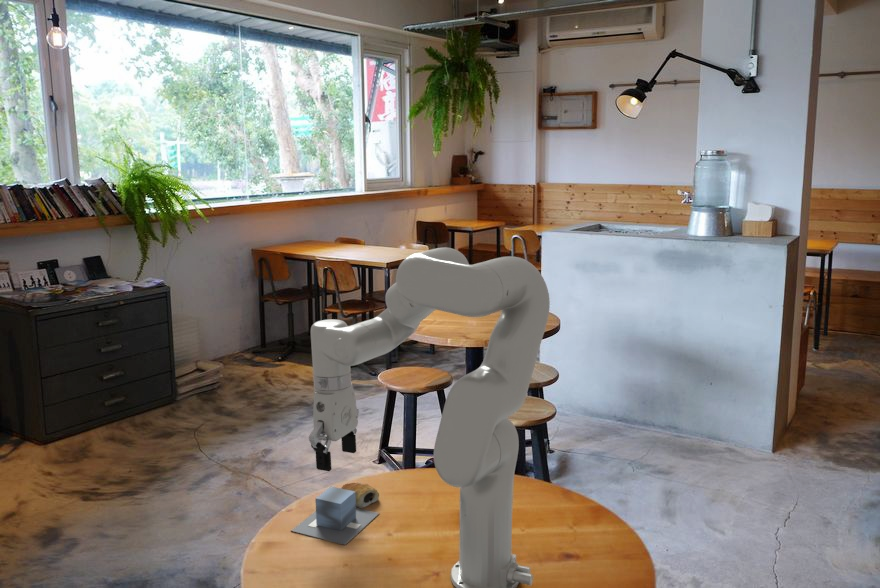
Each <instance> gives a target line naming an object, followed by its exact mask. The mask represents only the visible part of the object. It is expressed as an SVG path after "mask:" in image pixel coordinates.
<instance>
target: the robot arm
mask: <svg viewBox="0 0 880 588" xmlns="http://www.w3.org/2000/svg"><path fill="white" fill-rule="evenodd" d="M396 271H397V272H396V275H395V283H393V284H392V285H391V286H390V287H389V288H388V289H387V290H386V293H385V305H386V309H384V310H383V311H382V312H380V313H379V314H378V315H377V316H375V317H374V318H371V319H367V320H364V321H360V322H357V323H355V324H351V325H348V324H347V323H346V321H343V320H342V319H341V320H340V319H336V318H335V319H334V318H333V319H331V318H330V319H323V320H321V319H320V320H317V321H315V322H314V323H313V324H312V325H311V327H310V343H311V359H312V361H311V362H312V377H313V379H312V380H313V390H314V395H313V410H312V411H313V412H312V413H313V414H312V417H313V418H312V420H313V421H312V422H313V429H312V431H311V432H310V434H309V435H308V441H309V443H310V447H311V448H312V450H313V452H314V453H315V464H316V465H315V466H316V469H317V470H318V471H324V472H330V471H331V470H332V455H331V451H330V447H331V443H332V442H337V441H339V440H340V439H341V451H342V452H343V453H349V454H356V453H357V438H356V434H357V432H358V430H357V427H358V423H359V420H358V417H359V411H360V410H359V409H358V408H357V402H356V394H355V390H354V389H355V388H354V386H353V383H352V376H351V375H352V373H351V367H353V366H357V365H360V364H363V363H365V362H367V361H368V362H369V361H370V360H372V359H375V358H378V357H381V356H384V355H387V354H388V353H390V352H392V351H393V350H394V349H396V348H397V347H398V346H399V345H401V344H402V343H404V342H405V341H407V340H408V339H409V338H410V337H411V336H412V335H413V334H414V333H415V332H416V331H417V329H418V328H419V326H420V325H421V322H422V321H423V320H424V321H425V319H426V318H427V317H429V316H430V315H431V314H432V313H434V312H435V311H436V310H437V311H442V312H445V313H450V314H452V315H453V314H455V315H458V316H461V317H462V316H463V317H468V318H481V317H482V318H483V317H487V316H490V315H492V314H496V313H497V312H500V311H501V312H500V315H499V318H498V320H497V321H496V323H495V325H494V327H493V329H492V331H491V333H490V337H489V339H488V345H487V348H486V351H485V354H484V358H483V361H482V362H481V364H480V366H479V367H477V368H476V369H475V370H472V371H471V372H469V373H467V374H465V375H463V376H462V377H460V378H459V379H458V380H457V381H455V382H454V383H453V384H452V386H451V388H450V389H449V392H448V394H447V396H446V399H445V403H444V406H443V410H442V414H441V418H440V421H439V426H438V429H437V430H438V431H437V434H436V437H435V442H434V447H433V462H434V467H435V470H436V472H437V474H438V476H439V477H440V478H441V480H442V481H443V482H444V483H446V485H449V486H451V487H453V488H459V533H458V534H459V536H458V537H459V541H458V542H459V544H458V545H459V549H458V550H459V551H458V552H459V553H458V554H459V555H458V556H459V557H458V558H459V560H458V561H457V562H456V563H454V564H453V566H452V567H451V570H450V581H451V583H452V584H453V587H455V588H517V587H518V586H519V583H520V584H523V585H526V586H527V585H528V586H532V584H533V580H534V575H533V573H531V566H526V565H520V564H519V563H518V562H517V554H514V553H512V544H513V543H512V541H513V540H512V539H513V536H512V535H513V503H514V501H513V500H514V480H515V471H516V466H517V461H518V454H519V446H520V444H519V443H520V442H519V433H518V431H517V428H516V426H515V424H514V423H513V422H512V420H510V418H509V417H511V416H512V415H514V414H516V413H517V412H518V411H519V410H520V409H521V408H522V406H523V405H524V403H525V401H526V399H527V394H528V391H529V388H530V383H531V380H532V377H533V374H534V370H535V367H536V364H537V363H536V362H537V359H538V354H539V351H540V346H541V344H542V341H543V338H544V335H545V331H546V328H547V325H548V320H549V315H550V305H551V304H550V302H551V301H550V293H549V290H548V286H547V285H548V284H546V281H545V280H544V279H545V278H544V277H543V275H542V274H541V272H540V271H539V269H538V268H536V266H535V265H533V263H531V262H529V261H528V260H527V259H524V258H522V257H519V256H511V255H510V256H508V255H507V256H501V257H500V256H499V257H496V258H493V259H489V260H486V261H485V260H484V261H482V262H477V263H474V264H470V263H469V261H468V259H467V258H466V256H465V255H464V254H463V253H462V252H461V251H459V250H457V249H456V248H455V249H454V248H451V247H437V248H432V249H427V250H424V251H420V252H415V253H413V254H410V255H408V256H406V257H405V258H404V259H403V260H402V261H401V262H400V264H399V266H398V268H397V270H396ZM323 441H325V442H324V444H323V443H322V442H323Z"/></svg>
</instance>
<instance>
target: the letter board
mask: <svg viewBox="0 0 880 588" xmlns="http://www.w3.org/2000/svg"><path fill="white" fill-rule="evenodd" d="M379 515H380V512H375V511H371V510H367V509H363V508H356V518H355V519H354V520H353V521H352V522H351V523H349V524H348V525H347V526H346V527H345V528H344V529H343V530H342V531H340V530H336V529H332V528H327V527H323V526H319V525H316V510H315V511H314V512H313V513H311V514H310V515H309V516H308V517H307V518H305V519H304V520H302V522H300V523H299V524H297V525H296V526H295V527H294V528H292V529H291V530H290V532H291V531H293V532H292V533H295V532H296V534H299V533H300V534H299V535H304V536H308V537H311V538H316V539H320V540H324V541H326V542H327V541H328V542H330V543H335V544H339V545H343V546H347V545H348V543H350V542H351V541H352V540H353V539H354V538H355V537H357V535H358V534H359V533H361V532H362V531H363V530H364V529H365V528H366V527H367V526H368V525H369V524H370V523H371V522H373V521H374V520H375V519H376V518H377V517H378V516H379Z"/></svg>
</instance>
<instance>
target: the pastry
mask: <svg viewBox="0 0 880 588" xmlns="http://www.w3.org/2000/svg"><path fill="white" fill-rule="evenodd" d="M341 489H346V490H350V491H355V496H356V508H359V509H363V508H366V507H369V506H370V505H371V504H373V503H376V502H377V501H378V500H379V498H380V493H379V492H378V489H376V488H374V487H373V486H371V485H369V484H368V483H361V482H351V483H349V482H348V483H346V484H343V485H342V486H341Z"/></svg>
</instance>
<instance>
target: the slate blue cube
mask: <svg viewBox="0 0 880 588" xmlns="http://www.w3.org/2000/svg"><path fill="white" fill-rule="evenodd" d="M341 488H342V487H341ZM341 488H340V487H335V486H330V487H328V488H327V489H326V490H324V491H323V492H321V493H320V494H319V495H318V496H316V497H315V511H316V525H319V526H323V527H327V528H332V529H336V530H340V531H342V530H343V529H344V528H345V527H346V526H347V525H348V524H349V523H351V522H352V521H353V520H354V519H355V518H356V496H355V491H350V490H346V489H341Z"/></svg>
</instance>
